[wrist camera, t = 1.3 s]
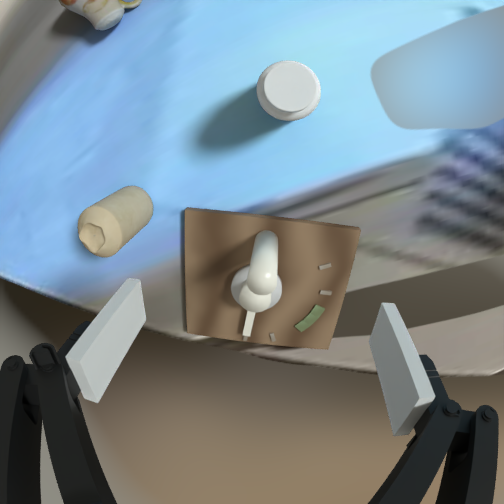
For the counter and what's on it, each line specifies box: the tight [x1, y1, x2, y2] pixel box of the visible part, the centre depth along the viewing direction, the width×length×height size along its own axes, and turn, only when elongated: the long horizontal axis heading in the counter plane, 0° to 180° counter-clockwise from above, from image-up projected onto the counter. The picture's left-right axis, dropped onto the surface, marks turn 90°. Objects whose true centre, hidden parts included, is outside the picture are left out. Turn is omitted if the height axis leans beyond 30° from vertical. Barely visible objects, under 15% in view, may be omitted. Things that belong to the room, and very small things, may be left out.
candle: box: [78, 186, 153, 257], centre depth 31 cm, size 6×6×10 cm
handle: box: [231, 230, 282, 337], centre depth 33 cm, size 15×6×9 cm, turn 170°
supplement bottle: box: [257, 61, 321, 121], centre depth 24 cm, size 5×5×10 cm
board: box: [185, 207, 361, 349], centre depth 38 cm, size 20×18×1 cm
